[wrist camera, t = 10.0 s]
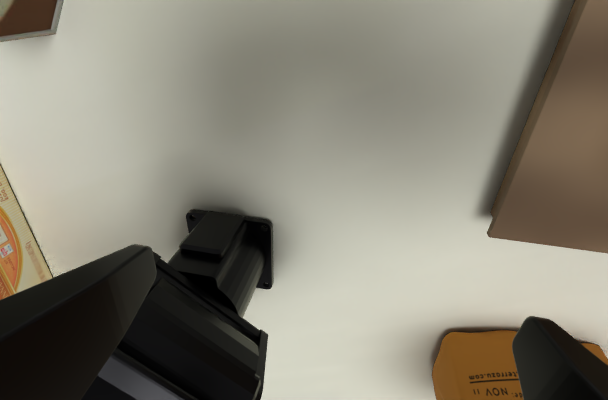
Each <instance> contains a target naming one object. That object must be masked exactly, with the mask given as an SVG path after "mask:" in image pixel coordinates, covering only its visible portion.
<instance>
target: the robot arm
mask: <svg viewBox="0 0 608 400" xmlns="http://www.w3.org/2000/svg"><path fill="white" fill-rule="evenodd" d="M192 215H193V216H194V217H195V218H194V217H193V216H192ZM186 219H187V225H188V231H189V235H188V236H187V237H186V238H185V239H184V240H183V242H182V243H181V244H180V245H179V248H180V249H179V250H178V251H177V252H176V253H175V255H174V256H173V257H172V258H171V259H170V260H169V262H168V263H166V262H164V261H163V260H162V259H160V258H161V257H160V256H159V255H158V254H156V253H155V252H153V251H152V249H151V248H150V247H148V246H143V245H138V244H134V245H131V246H128V247H126V248H124V249H121V250H119V251H116V252H114V253H112V254H109V255H107V256H104V257H102V258H100V259H97V260H95V261H92V262H90V263H88V264H85V265H83V266H80V267H78V268H76V269H73V270H71V271H68V272H66V273H64V274H61V275H59V276H56V277H54V278H52V279H49V280H47V281H44V282H42V283H40V284H37V285H35V286H32V287H30V288H28V289H25V290H23V291H20V292H18V293H16V294H13V295H11V296H8V297H6V298H4V299H1V300H0V400H260V399H261V396H262V391H263V383H264V372H265V362H266V351H267V341H268V334H267V333H265V332H264V331H263V330H258V329H257V328H256V327H254V326H253V325H252V324H250V323H249V322H247V321H246V320H245V319H243V316H244V313H245V311H246V309H247V307H248V304H249V302H250V300H251V297H252V295H253V293H254V291H255V288H261V289H270V288H271V287H272V285H273V226H272V223H271V222H270V221H268V220H264V219H257V218H250V217H243V216H240V215H233V214H226V213H219V212H212V211H209V212H208V211H201V210H190V211H189V212H188V213H187V215H186ZM263 226H266V227H267V228H264V227H263ZM265 282H266V283H265ZM267 283H268V284H267ZM512 351H513V356H514V360H515V364H516V369H517V373H518V378H519V382H520V386H521V391H522V395H523V399H524V400H608V365H607V364H606V363H604V362H603V361H602V360H601V359H599V358H598V357H597V356H596V355H594V354H593V353H592V352H591V351H589V350H588V349H587V348H586V347H584V346H583V345H582V344H581V343H579V342H578V341H577V340H576V339H574V338H573V337H572V336H571V335H569V334H568V333H567V332H566V331H564V330H563V329H562V328H561V327H559V326H558V325H557V324H556V323H554V322H553V321H551V320H549V319H545V318H540V317H534V316H530V317H528V318H526V319H525V321H524V322H523V324H522V326H521V327H520V329H519V330H518V332H517V334H516V335H515V337H514V339H513V342H512Z"/></svg>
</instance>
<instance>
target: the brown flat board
mask: <svg viewBox="0 0 608 400" xmlns="http://www.w3.org/2000/svg"><path fill="white" fill-rule="evenodd" d="M490 213H491V215H492V216H493V219H492V222H491V224H490V227H489V229H488V231H487V234H488V236H489V237H492V238H499V239H507V240H514V241H521V242H529V243H536V244H543V245H551V246H558V247H565V248H573V249H580V250H588V251H595V252H602V253H608V0H575V1H574V4H573V6H572V9H571V11H570V14H569V16H568V19H567V21H566V24H565V26H564V29H563V31H562V34H561V36H560V39H559V41H558V44H557V46H556V49H555V52H554V54H553V57H552V59H551V62H550V64H549V67H548V69H547V72H546V74H545V77H544V79H543V82H542V84H541V87H540V89H539V92H538V94H537V97H536V99H535V102H534V104H533V107H532V109H531V112H530V114H529V117H528V119H527V122H526V124H525V127H524V129H523V132H522V134H521V137H520V139H519V142H518V144H517V147H516V149H515V152H514V154H513V157H512V159H511V162H510V164H509V167H508V169H507V172H506V174H505V177H504V179H503V182H502V184H501V187H500V189H499V192H498V194H497V197H496V199H495V202H494V204H493V207H492V209H491V212H490Z"/></svg>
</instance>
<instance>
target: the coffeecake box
mask: <svg viewBox="0 0 608 400" xmlns="http://www.w3.org/2000/svg"><path fill="white" fill-rule="evenodd" d="M49 279H52V275H51V273H50V271H49V269H48V267H47V265H46V263H45V261H44V258H43V256H42V254H41V252H40V250H39V248H38V246H37V243H36V241H35V239H34V237H33V235H32V233H31V231H30V229H29V227H28V224H27V222H26V220H25V218H24V216H23V214H22V212H21V209H20V207H19V205H18V203H17V201H16V198H15V196H14V194H13V192H12V190H11V188H10V185H9V183H8V181H7V179H6V177H5V174H4V172H3V170H2V168H1V166H0V300H1V299H4V298H6V297H8V296H11V295H13V294H16V293H18V292H20V291H23V290H25V289H28V288H30V287H32V286H35V285H37V284H40V283H42V282H44V281H47V280H49Z"/></svg>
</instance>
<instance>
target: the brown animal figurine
mask: <svg viewBox="0 0 608 400" xmlns="http://www.w3.org/2000/svg"><path fill="white" fill-rule="evenodd" d="M516 334H517V331H510V330H498V331H487V332H477V333H463V332H451V333H449V334H447V335H446V336H445V337H444V338H443V340H442V343H441V347H440V351H439V354H438V356H437V358H436V361H435V364H434V367H433V372H432V378H433V384H434V390H435V395H436V399H437V400H524V399H523V395H522V391H521V386H520V382H519V378H518V373H517V369H516V364H515V360H514V356H513V351H512V342H513V339H514V337H515V335H516ZM581 344H582V345H583V346H584V347H586V348H587V349H588V350H589V351H591V352H592V353H593V354H594V355H596V356H597V357H598V358H599V359H601V360H602V361H603V362H604V363H606V364H607V365H608V359H607V357H606V356H605V354H604V353H603V351H602V350H601V348H600V346H598V345H595V344H590V343H581Z"/></svg>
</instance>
